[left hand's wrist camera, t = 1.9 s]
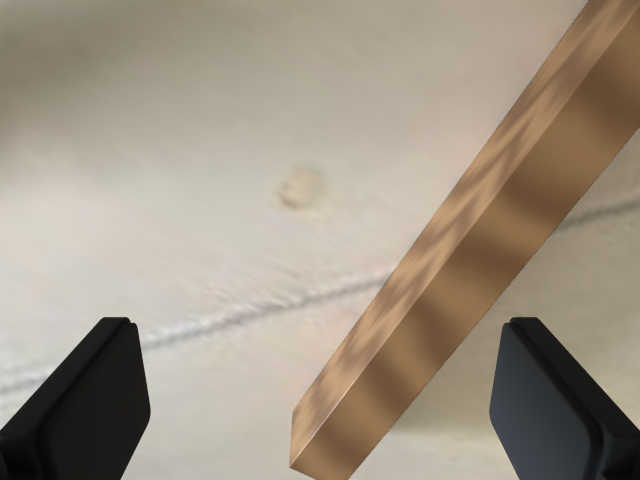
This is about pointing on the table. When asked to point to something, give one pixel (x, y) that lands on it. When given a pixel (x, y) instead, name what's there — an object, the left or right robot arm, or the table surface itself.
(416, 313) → the bar
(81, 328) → the table surface
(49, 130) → the table surface
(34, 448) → the left robot arm
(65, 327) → the table surface
